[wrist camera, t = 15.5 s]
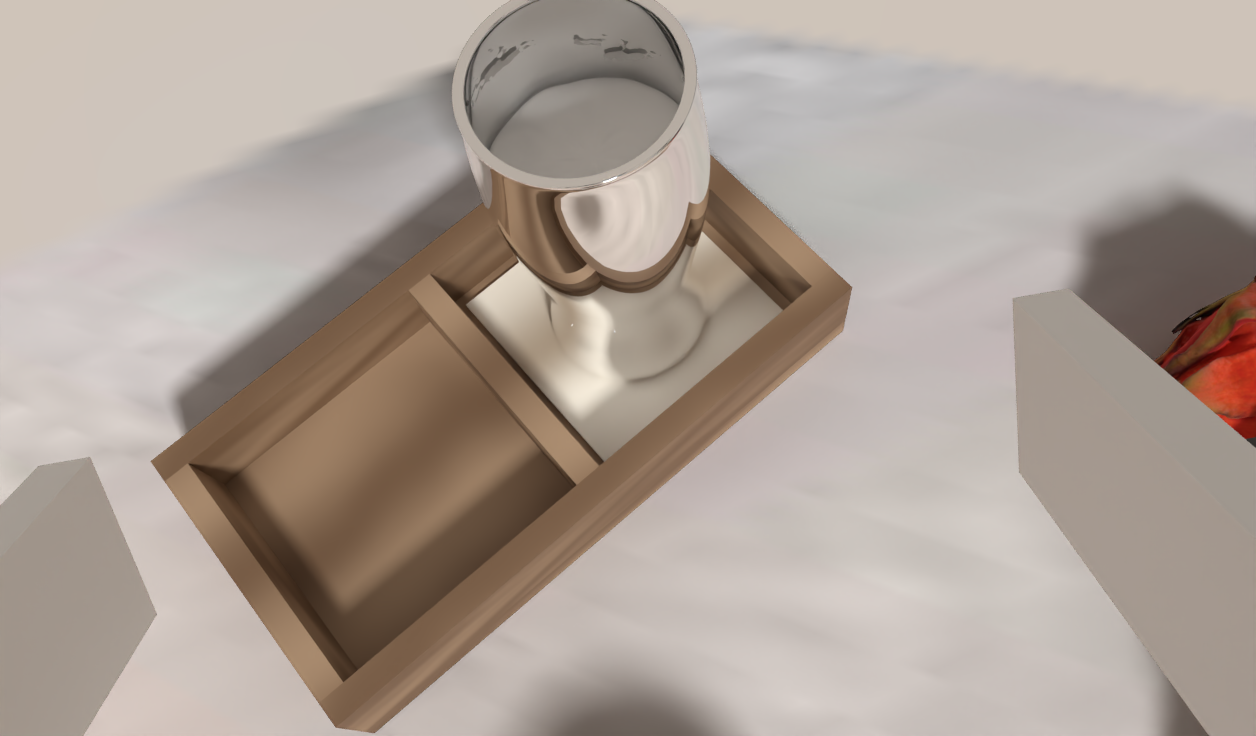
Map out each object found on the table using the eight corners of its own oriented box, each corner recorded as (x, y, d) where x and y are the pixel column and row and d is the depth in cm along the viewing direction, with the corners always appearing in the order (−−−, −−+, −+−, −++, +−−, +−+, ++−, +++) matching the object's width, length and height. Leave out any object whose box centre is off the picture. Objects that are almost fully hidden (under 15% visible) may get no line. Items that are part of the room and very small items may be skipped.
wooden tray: (842, 330, 43) (852, 287, 39) (374, 733, 39) (335, 727, 36) (643, 139, 47) (635, 84, 43) (201, 489, 43) (150, 461, 40)
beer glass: (537, 240, 44) (440, -11, 30) (708, 220, 44) (691, -44, 30) (545, 402, 42) (445, 210, 28) (728, 383, 41) (718, 178, 27)
